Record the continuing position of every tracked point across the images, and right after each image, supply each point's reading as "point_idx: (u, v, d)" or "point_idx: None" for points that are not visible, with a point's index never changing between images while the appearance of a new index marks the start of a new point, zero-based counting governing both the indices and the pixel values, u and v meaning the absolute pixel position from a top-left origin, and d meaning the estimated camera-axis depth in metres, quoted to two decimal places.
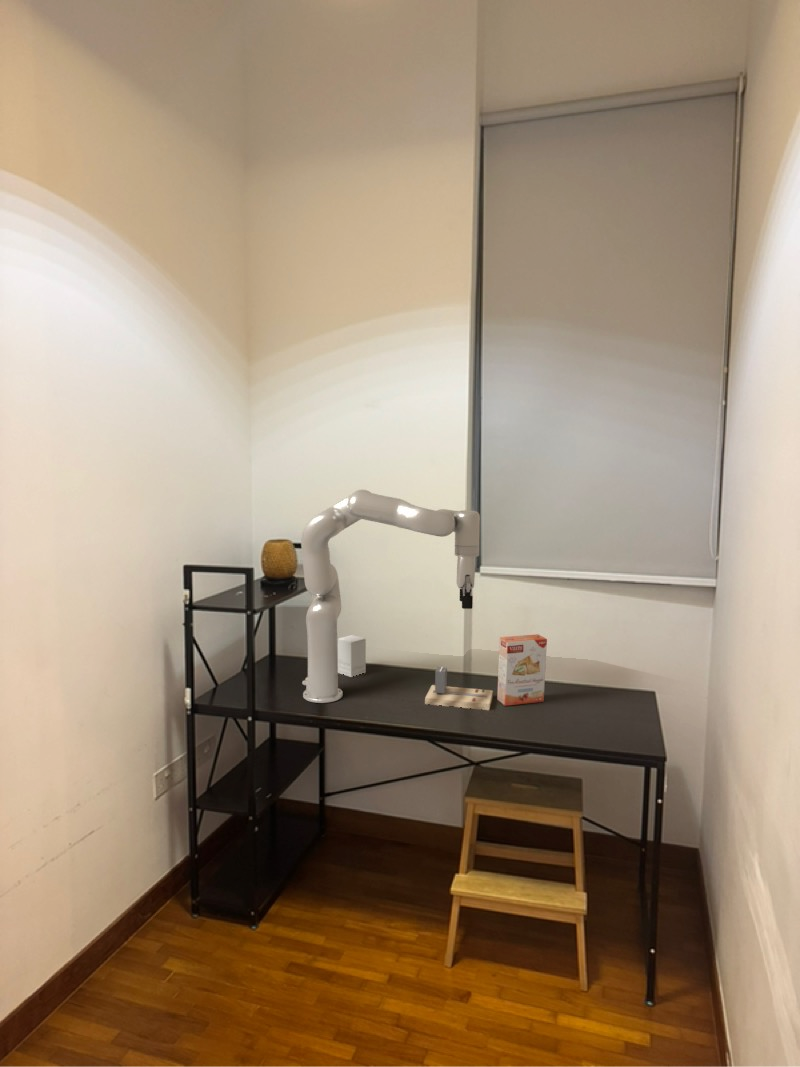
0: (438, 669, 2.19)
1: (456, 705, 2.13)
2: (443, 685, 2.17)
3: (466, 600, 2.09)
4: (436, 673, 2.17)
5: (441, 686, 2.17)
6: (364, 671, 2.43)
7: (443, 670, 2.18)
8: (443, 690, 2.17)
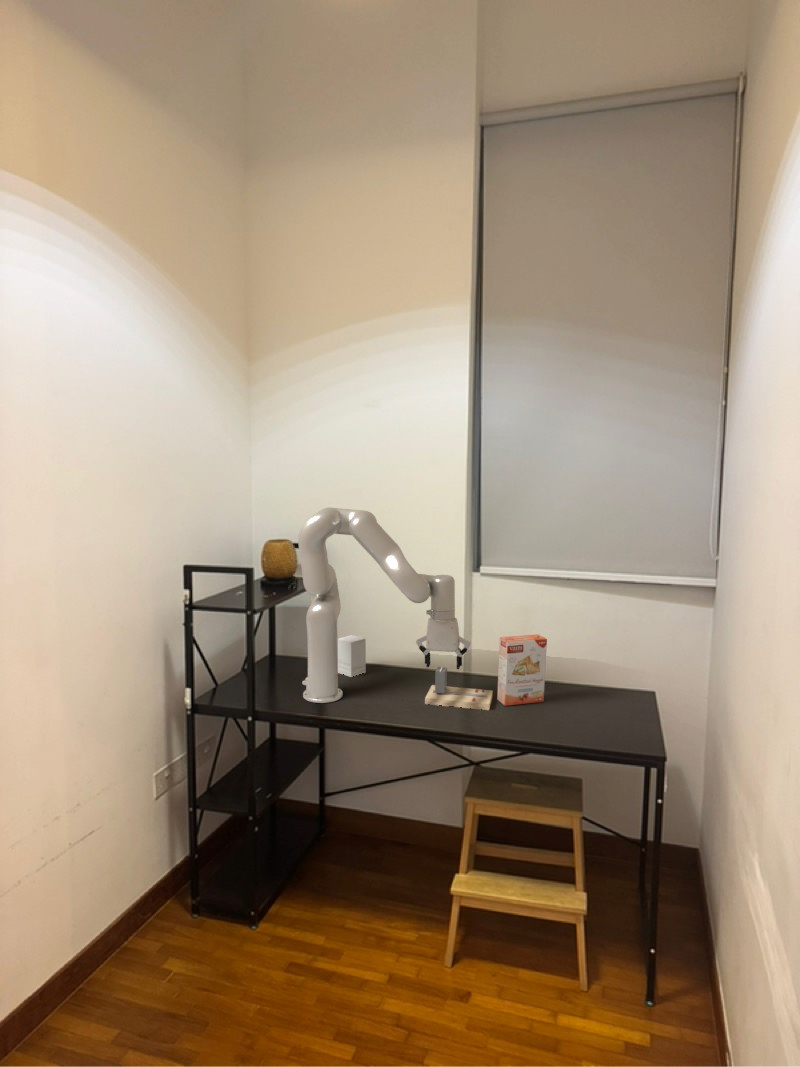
0: (438, 669, 2.19)
1: (456, 705, 2.13)
2: (443, 685, 2.17)
3: (461, 660, 2.17)
4: (436, 673, 2.17)
5: (441, 686, 2.17)
6: (364, 671, 2.43)
7: (443, 670, 2.18)
8: (443, 690, 2.17)
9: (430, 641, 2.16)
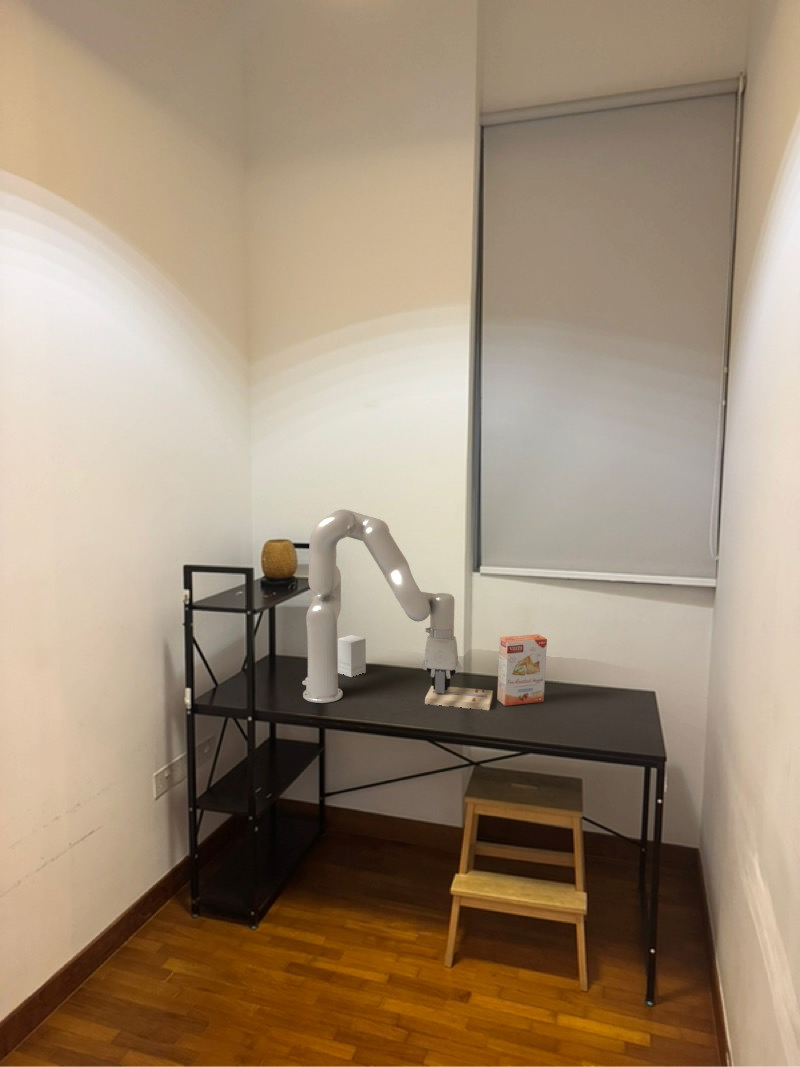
0: (438, 669, 2.19)
1: (456, 705, 2.13)
2: (443, 685, 2.17)
3: (449, 681, 2.19)
4: (436, 673, 2.17)
5: (441, 686, 2.17)
6: (364, 671, 2.43)
7: (443, 670, 2.18)
8: (443, 690, 2.17)
9: (428, 659, 2.17)
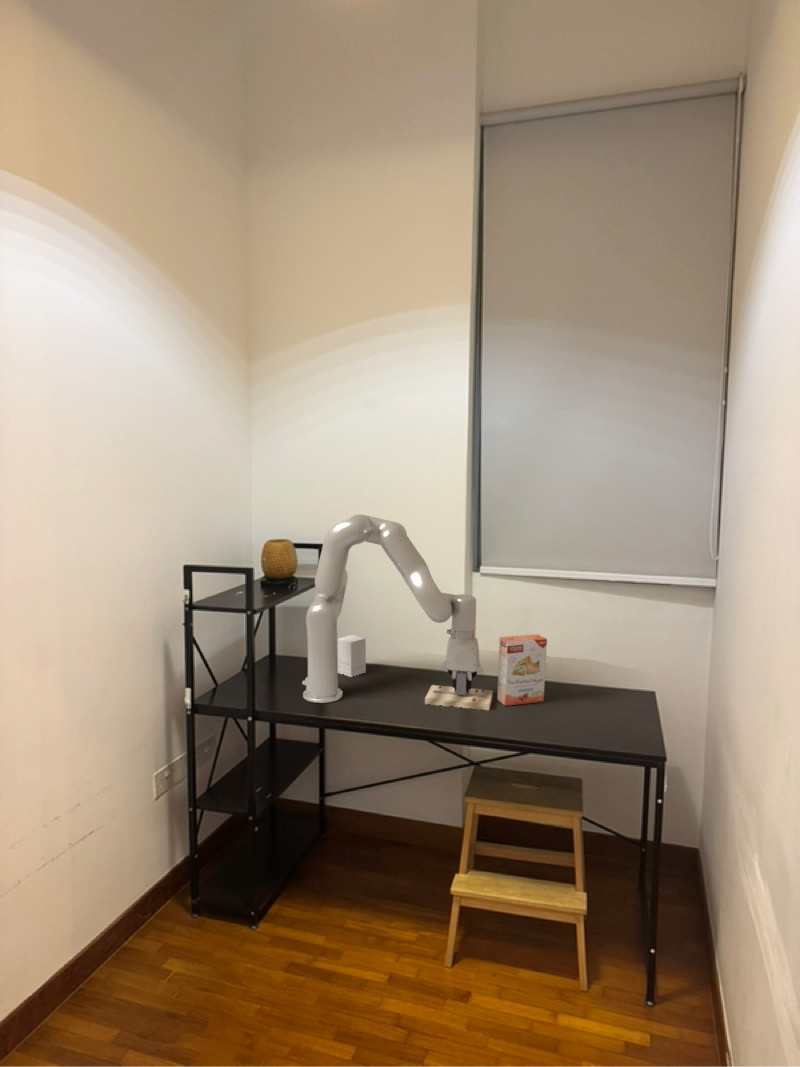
0: (459, 671, 2.18)
1: (456, 705, 2.13)
2: (464, 687, 2.16)
3: None
4: (457, 675, 2.16)
5: (463, 688, 2.16)
6: (364, 671, 2.43)
7: (464, 672, 2.17)
8: (464, 692, 2.16)
9: (450, 661, 2.15)
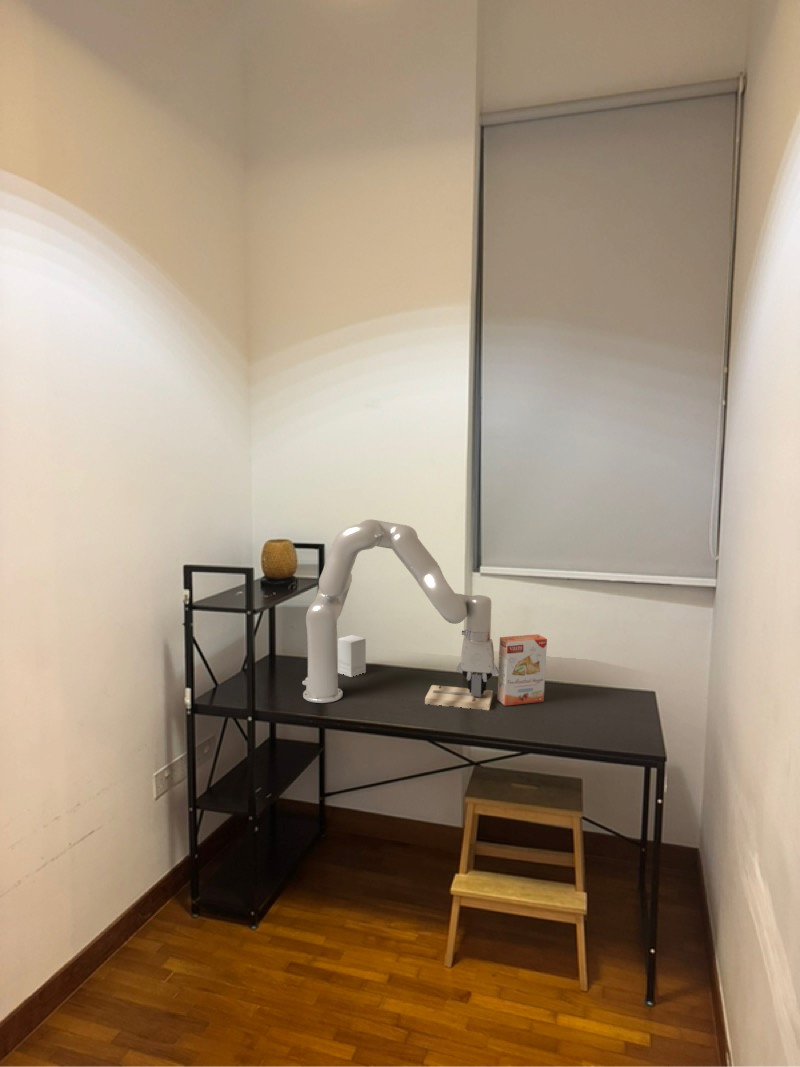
0: (474, 672, 2.17)
1: (456, 705, 2.13)
2: (479, 688, 2.15)
3: (485, 684, 2.16)
4: (472, 676, 2.15)
5: (478, 690, 2.15)
6: (364, 671, 2.43)
7: (479, 673, 2.16)
8: (479, 693, 2.15)
9: (465, 662, 2.14)
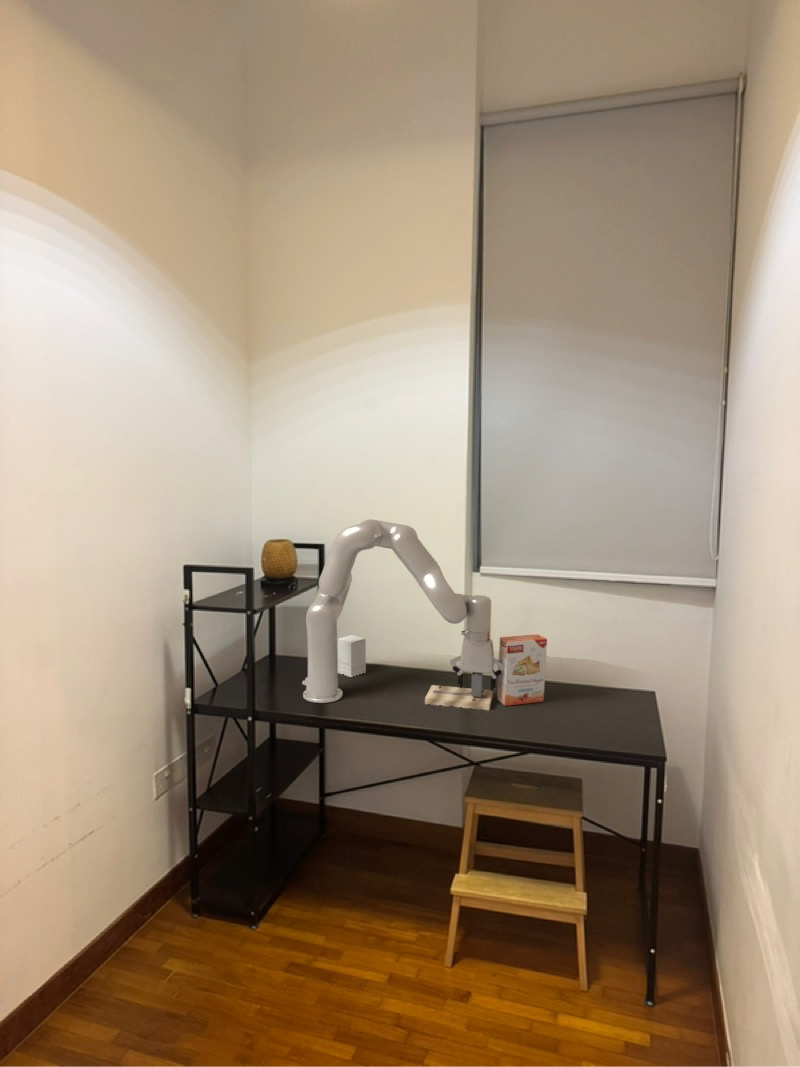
0: (474, 672, 2.17)
1: (456, 705, 2.13)
2: (479, 688, 2.15)
3: (495, 681, 2.15)
4: (472, 676, 2.15)
5: (478, 690, 2.15)
6: (364, 671, 2.43)
7: (479, 673, 2.16)
8: (479, 693, 2.15)
9: (465, 662, 2.14)
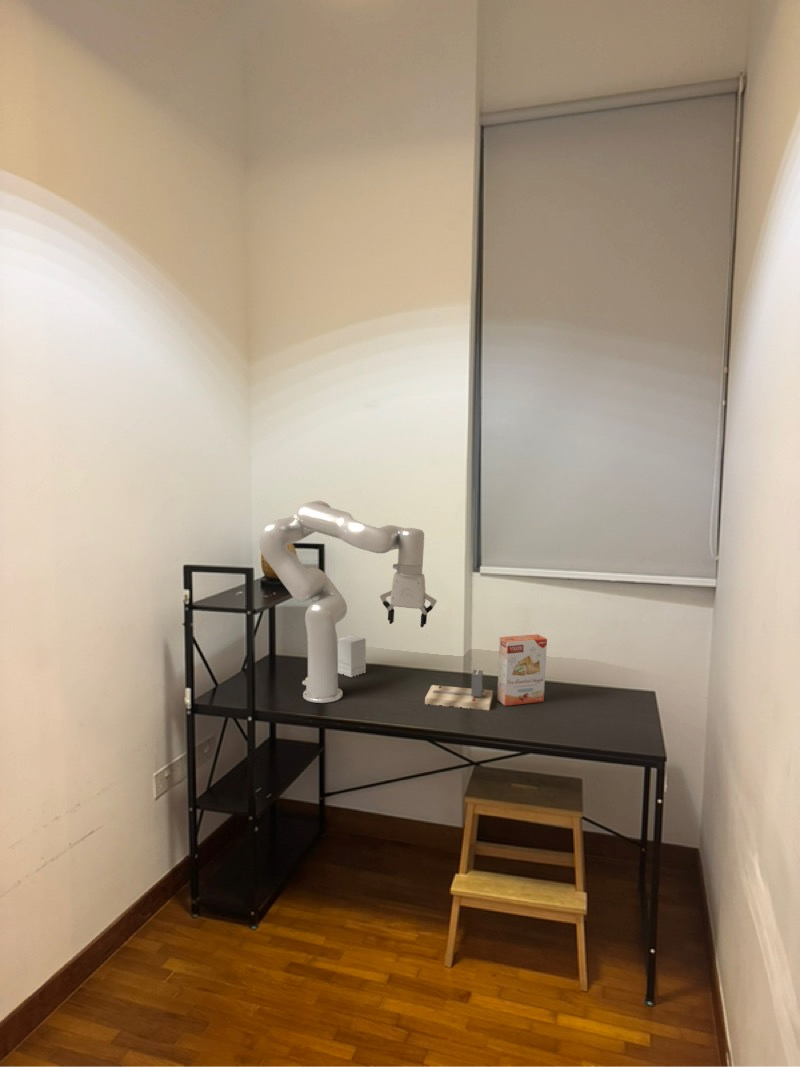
0: (474, 672, 2.17)
1: (456, 705, 2.13)
2: (479, 688, 2.15)
3: (426, 618, 2.08)
4: (472, 676, 2.15)
5: (478, 690, 2.15)
6: (364, 671, 2.43)
7: (479, 673, 2.16)
8: (479, 693, 2.15)
9: (395, 596, 2.07)
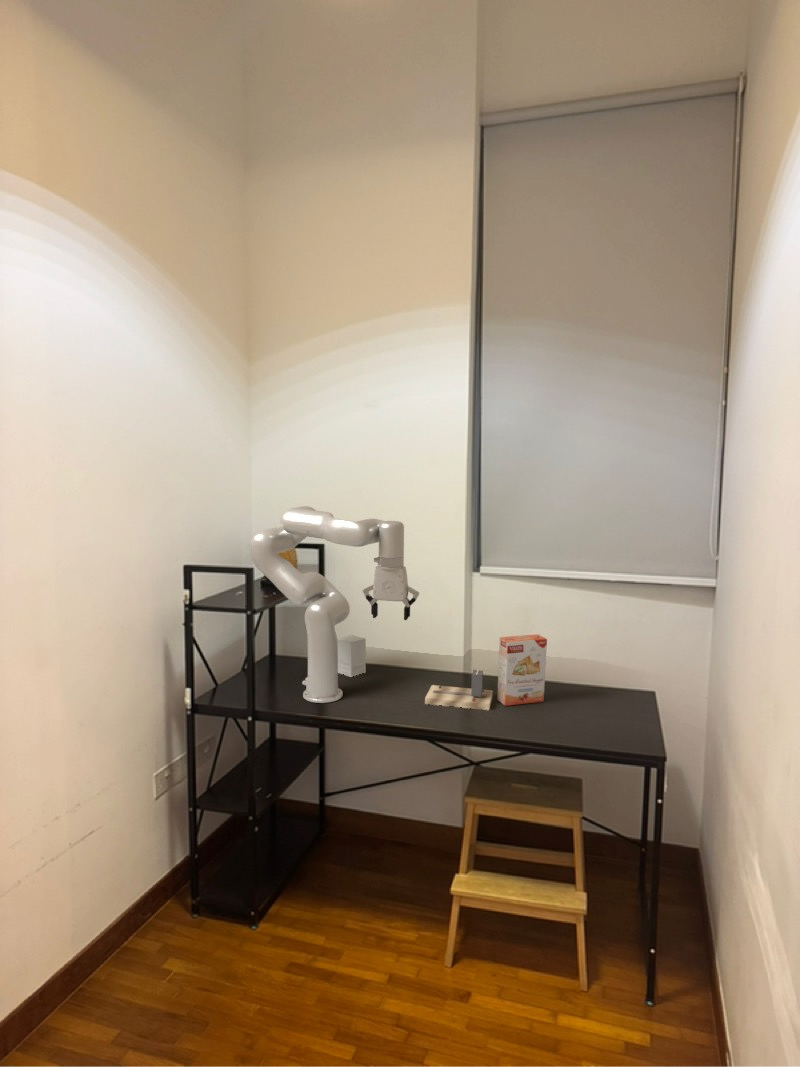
0: (474, 672, 2.17)
1: (456, 705, 2.13)
2: (479, 688, 2.15)
3: (409, 610, 2.07)
4: (472, 676, 2.15)
5: (478, 690, 2.15)
6: (364, 671, 2.43)
7: (479, 673, 2.16)
8: (479, 693, 2.15)
9: (377, 590, 2.05)
